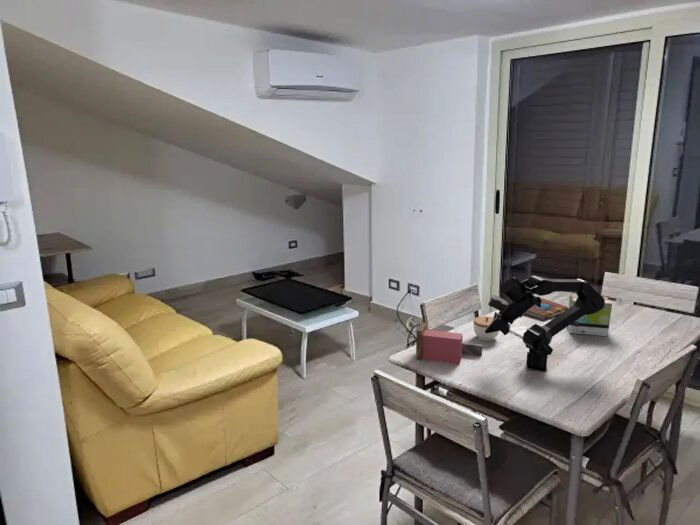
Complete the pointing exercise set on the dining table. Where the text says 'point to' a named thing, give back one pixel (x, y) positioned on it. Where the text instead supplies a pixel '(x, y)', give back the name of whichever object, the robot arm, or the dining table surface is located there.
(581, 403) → the dining table surface
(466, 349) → the bookend
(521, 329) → the external hard drive
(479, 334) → the lidded jar
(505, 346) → the dining table surface
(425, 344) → the pink rectangular block
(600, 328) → the tea box
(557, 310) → the book
